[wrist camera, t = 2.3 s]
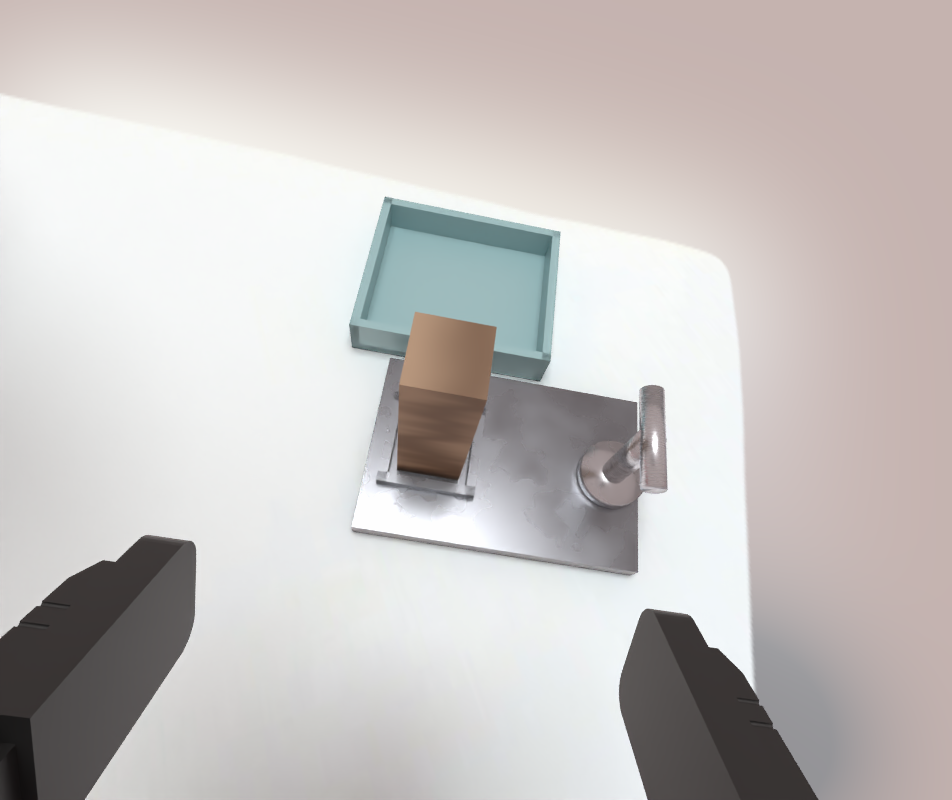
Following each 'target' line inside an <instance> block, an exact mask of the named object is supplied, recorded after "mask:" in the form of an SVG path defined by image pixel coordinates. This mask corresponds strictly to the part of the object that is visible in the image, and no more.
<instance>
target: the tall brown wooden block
mask: <svg viewBox="0 0 952 800" xmlns="http://www.w3.org/2000/svg"><path fill="white" fill-rule="evenodd" d="M496 329H497V327H495V326H489V325H484V324H479V323H473V322H468V321H462V320H457V319H452V318H446V317H441V316H436V315H430V314H425V313H420V312H415V314H414V318H413V323H412V327H411V332H410V337H409V341H408V346H407V351H406V355H405V360H404V364H403V369H402V374H401V378H400V383H399V408H398V447H397V470H400V471H406V472H412V473H418V474H424V475H430V476H436V477H442V478H448V479H454V480H459V477H460V474H461V472H462V469H463V466H464V463H465V460H466V458H467V455H468V452H469V449H470V446H471V444H472V441H473V438H474V435H475V432H476V430H477V427H478V424H479V421H480V418H481V416H482V413H483V410H484V407H485V404H486V402H487V397H488V389H489V382H490V374H491V367H492V359H493V352H494V344H495V337H496Z"/></svg>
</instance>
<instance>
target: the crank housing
mask: <svg viewBox="0 0 952 800" xmlns="http://www.w3.org/2000/svg"><path fill="white" fill-rule="evenodd" d="M403 364H404V360H399V359H393V358H390V362H389V366H388V371H387V375H386V379H385V384H384V388H383V392H382V397H381V401H380V405H379V410H378V414H377V418H376V423H375V427H374V431H373V436H372V440H371V444H370V449H369V453H368V457H367V462H366V466H365V470H364V475H363V479H362V483H361V488H360V492H359V496H358V501H357V505H356V509H355V514H354V518H353V522H352V530H353V531H355V532H362V533H368V534H374V535H381V536H387V537H393V538H399V539H406V540H412V541H418V542H425V543H431V544H437V545H443V546H450V547H456V548H462V549H469V550H475V551H481V552H487V553H494V554H500V555H506V556H513V557H519V558H525V559H531V560H538V561H544V562H550V563H557V564H563V565H569V566H575V567H582V568H588V569H594V570H601V571H607V572H613V573H620V574H626V575H632V574H635V573H638V497H639V496H640V495H641V494H642V492H646V493H652V494H658V493H664V492H666V491H667V459H666V424H665V390H664V388H662V387H660V386H656V385H648V386H644V387H642V388H641V389H640V390H639V409H640V430H639V431H638V432H637V402H631V401H626V400H620V399H615V398H609V397H604V396H598V395H593V394H587V393H581V392H576V391H570V390H565V389H559V388H554V387H548V386H543V385H537V384H532V383H526V382H521V381H515V380H509V379H504V378H498V377H493V376H490V382H489V389H488V397H487V402H486V404H485V407H484V410H483V413H482V416H481V418H480V421H479V424H478V427H477V430H476V432H475V435H474V438H473V441H472V444H471V446H470V449H469V452H468V455H467V458H466V460H465V463H464V466H463V469H462V472H461V474H460V477H459V480H454V479H448V478H442V477H436V476H430V475H424V474H418V473H412V472H406V471H400V470H397V447H398V408H399V383H400V378H401V374H402V369H403Z"/></svg>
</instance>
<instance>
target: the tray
mask: <svg viewBox="0 0 952 800" xmlns="http://www.w3.org/2000/svg"><path fill="white" fill-rule="evenodd" d="M559 244H560V232H559V231H554V230H549V229H544V228H539V227H534V226H529V225H524V224H519V223H514V222H509V221H504V220H499V219H494V218H489V217H484V216H479V215H474V214H469V213H464V212H459V211H454V210H449V209H444V208H439V207H434V206H429V205H424V204H419V203H414V202H409V201H404V200H399V199H394V198H389V197H385V198H384V202H383V205H382V209H381V212H380V216H379V220H378V223H377V227H376V230H375V234H374V238H373V241H372V245H371V248H370V252H369V256H368V259H367V263H366V266H365V270H364V274H363V277H362V281H361V284H360V288H359V291H358V295H357V299H356V302H355V306H354V309H353V313H352V317H351V320H350V324H349V326H350V334H351V342H352V347H354V348H360V349H365V350H371V351H376V352H382V353H387V354H393V355H398V356H404V357H405V355H406V351H407V346H408V341H409V337H410V332H411V327H412V323H413V318H414V314H415V312H420V313H425V314H430V315H436V316H441V317H446V318H452V319H457V320H462V321H468V322H473V323H479V324H484V325H489V326H495V327H497V329H496V337H495V344H494V352H493V359H492V367H491V372H492V373H498V374H503V375H509V376H514V377H520V378H525V379H531V380H537V381H540V380H541V378H542V376H543V374H544V372H545V371H546V369H547V367H548V365H549V363H550V359H551V346H552V334H553V321H554V308H555V295H556V283H557V270H558V257H559Z"/></svg>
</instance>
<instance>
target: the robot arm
mask: <svg viewBox="0 0 952 800" xmlns="http://www.w3.org/2000/svg"><path fill="white" fill-rule="evenodd" d="M195 580H196V548H195V544H194V543H193V542H192V541H186V540H179V539H173V538H166V537H159V536H152V535H145V536H143V537H141V538H140V539H139V540H138V541H137V542H136V543H135V544H134V545H133V546H132V547H131V548H129V549H128V550H127V551H126V552H125V553H124V554H123V555H122V556H121V557H120V558H119V559H118V560H117V561H116V562H112V561H105V560H103V561H101V562H99V563H97V564H95V565H93V566H91V567H89V568H87V569H85V570H83V571H81V572H79V573H77V574H75V575H73V576H71V577H69V578H68V579H67V580H65V581H64V582H63V583H62V584H61V585H60V586H59V587H58V588H56V589H55V590H54V591H53V592H52V593H51V594H50V595H49V596H48V597H46V598H45V599H44V600H43V601H42V604H41V606H36V607H35V608H34V609H33V610H32V611H31V612H30V613H28V614H27V615H26V616H25V617H24V618H23V619H22V620H21V621H20V623H19V625H18V627H13V628H12V629H11V630H9V631H8V632H7V633H6V634H5V635H4V636H3V637H2V638H0V800H85V798H86V797H87V795H88V794H89V792H90V791H91V789H92V788H93V786H94V785H95V783H96V782H97V780H98V779H99V777H100V776H101V774H102V772H103V771H104V769H105V768H106V766H107V765H108V763H109V762H110V760H111V759H112V757H113V756H114V754H115V753H116V751H117V750H118V748H119V747H120V745H121V744H122V742H123V741H124V739H125V738H126V736H127V735H128V733H129V732H130V730H131V729H132V727H133V726H134V724H135V723H136V721H137V720H138V718H139V717H140V715H141V714H142V712H143V711H144V709H145V708H146V706H147V705H148V703H149V702H150V700H151V699H152V697H153V696H154V694H155V693H156V691H157V690H158V688H159V687H160V685H161V684H162V682H163V681H164V679H165V678H166V676H167V675H168V673H169V672H170V670H171V669H172V667H173V666H174V664H175V663H176V661H177V660H178V658H179V657H180V655H181V654H182V652H183V650H184V648H185V646H186V644H187V642H188V639H189V637H190V634H191V630H192V627H193V622H194V616H195ZM619 701H620V708H621V713H622V717H623V720H624V723H625V726H626V730H627V733H628V736H629V740H630V743H631V746H632V749H633V753H634V756H635V759H636V763H637V766H638V769H639V772H640V776H641V779H642V782H643V786H644V789H645V792H646V796H647V799H648V800H818V798H817V797H816V795H815V793H814V792H813V790H812V788H811V787H810V785H809V784H808V782H807V780H806V778H805V777H804V775H803V773H802V772H801V770H800V768H799V767H798V765H797V763H796V762H795V760H794V758H793V756H792V755H791V753H790V752H789V750H788V748H787V746H786V745H785V743H784V742H783V740H782V738H781V736H780V735H779V733H778V731H777V730H775V729H773V726H772V724H773V723H772V721H771V720H770V718H769V717H768V715H767V713H766V711H765V710H764V708H763V706H759V699H758V698H757V696H756V694H755V693H754V691H753V689H752V688H751V686H750V684H749V683H748V681H747V679H746V678H745V676H744V674H743V673H742V672H741V671H740V670H739V669H738V668H737V667H736V666H735V665H734V664H733V663H732V662H731V661H730V660H729V659H728V658H727V657H726V656H725V655H724V654H723V653H722V652H721V651H720V650H719V649H717V648H710V647H708V645H707V643H706V642H705V640H704V638H703V636H702V634H701V633H700V631H699V629H698V627H697V625H696V624H695V622H694V620H693V619H692V617H691V616H689V615H688V614H682V613H675V612H668V611H661V610H654V609H645V610H644V611H643V612H642V614H641V616H640V618H639V621H638V624H637V627H636V630H635V633H634V636H633V639H632V643H631V646H630V649H629V652H628V655H627V658H626V661H625V664H624V667H623V670H622V673H621V678H620V685H619Z"/></svg>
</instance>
